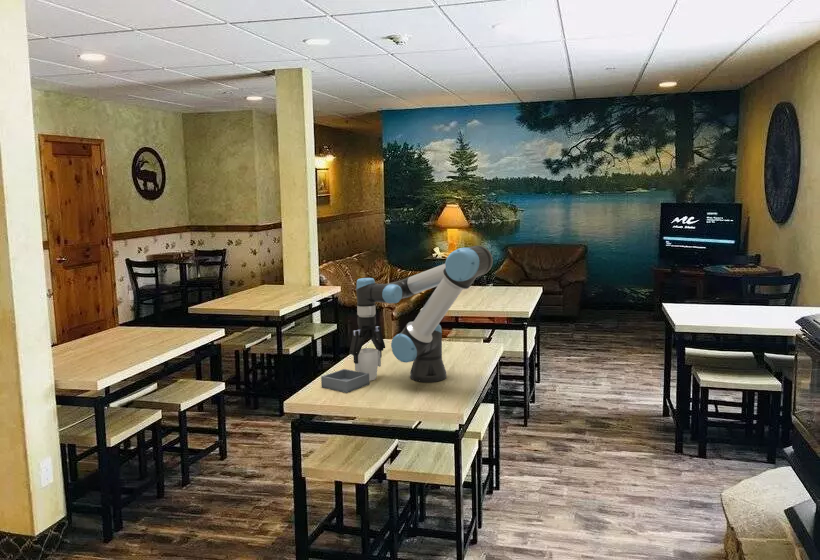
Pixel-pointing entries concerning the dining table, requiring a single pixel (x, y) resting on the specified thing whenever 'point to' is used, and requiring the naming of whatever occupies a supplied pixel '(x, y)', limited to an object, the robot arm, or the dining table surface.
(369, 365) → the cup
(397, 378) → the dining table surface
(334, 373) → the bin
